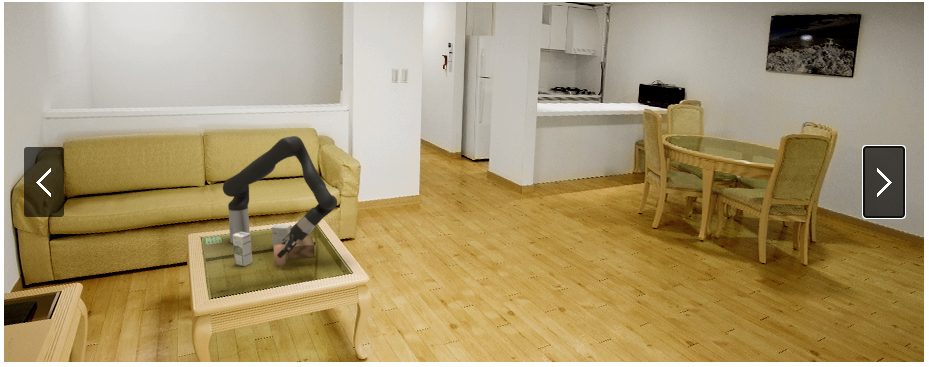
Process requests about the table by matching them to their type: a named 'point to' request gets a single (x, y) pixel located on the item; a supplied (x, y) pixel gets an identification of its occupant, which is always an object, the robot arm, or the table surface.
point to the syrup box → (242, 248)
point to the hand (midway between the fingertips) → (278, 253)
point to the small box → (280, 233)
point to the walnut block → (302, 249)
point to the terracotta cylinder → (277, 260)
